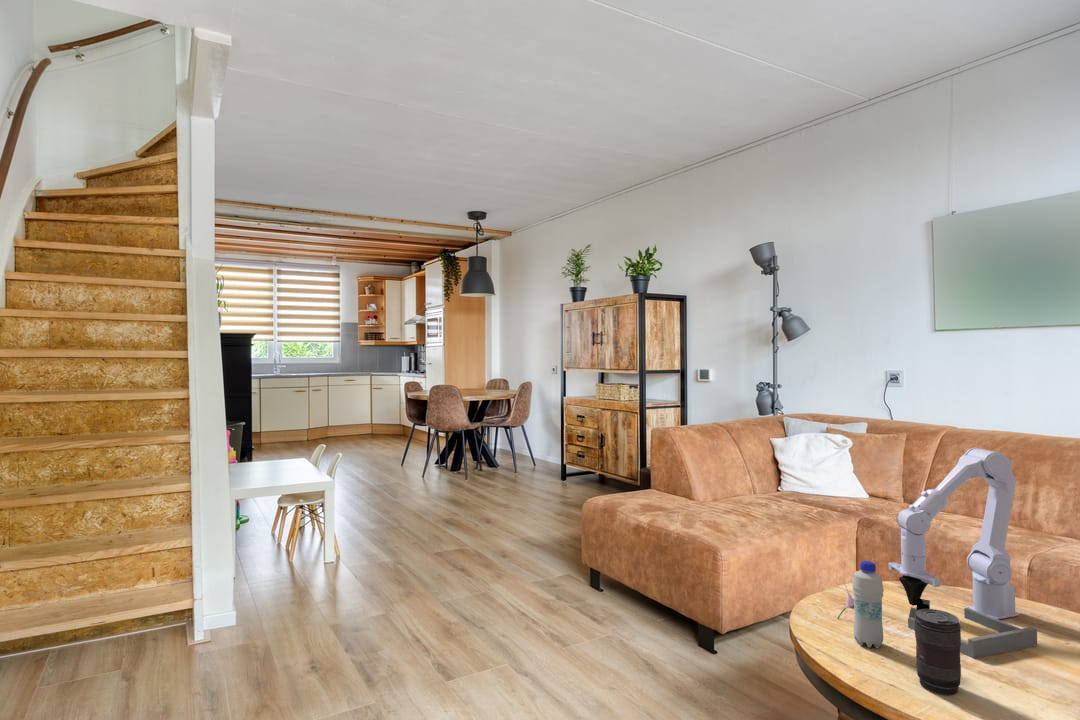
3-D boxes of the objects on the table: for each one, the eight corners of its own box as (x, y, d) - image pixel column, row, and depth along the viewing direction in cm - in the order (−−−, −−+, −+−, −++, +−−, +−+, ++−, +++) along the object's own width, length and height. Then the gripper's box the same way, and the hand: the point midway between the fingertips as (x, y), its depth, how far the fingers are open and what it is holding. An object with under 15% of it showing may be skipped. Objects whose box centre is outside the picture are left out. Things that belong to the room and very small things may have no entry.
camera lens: (906, 678, 131) (905, 608, 131) (941, 676, 131) (940, 607, 131) (934, 699, 123) (932, 624, 123) (971, 696, 123) (970, 622, 123)
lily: (862, 637, 152) (880, 604, 152) (817, 607, 160) (834, 576, 160) (868, 635, 162) (886, 604, 162) (825, 607, 169) (842, 577, 169)
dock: (967, 616, 161) (967, 601, 161) (1037, 645, 145) (1036, 628, 145) (908, 627, 155) (907, 611, 155) (973, 658, 139) (973, 641, 139)
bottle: (883, 640, 148) (882, 558, 148) (885, 652, 142) (884, 567, 142) (852, 635, 151) (851, 555, 151) (853, 647, 145) (852, 563, 145)
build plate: (910, 608, 169) (909, 591, 169) (941, 614, 165) (941, 597, 165) (906, 623, 159) (905, 605, 159) (939, 630, 155) (939, 612, 155)
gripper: (879, 548, 171) (880, 596, 171) (925, 564, 157) (926, 616, 157) (899, 545, 173) (900, 593, 173) (946, 561, 159) (947, 613, 159)
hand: (914, 604), depth 165 cm, fingers closed
